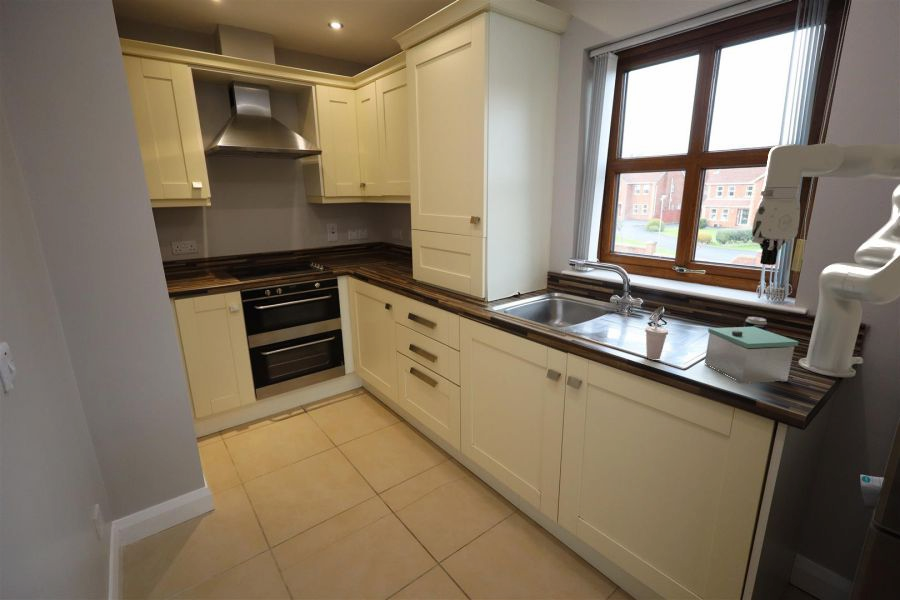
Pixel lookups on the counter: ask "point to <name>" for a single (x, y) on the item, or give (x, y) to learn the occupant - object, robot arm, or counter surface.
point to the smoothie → (655, 340)
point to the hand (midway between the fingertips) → (767, 264)
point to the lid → (752, 337)
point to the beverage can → (756, 322)
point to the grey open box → (749, 361)
